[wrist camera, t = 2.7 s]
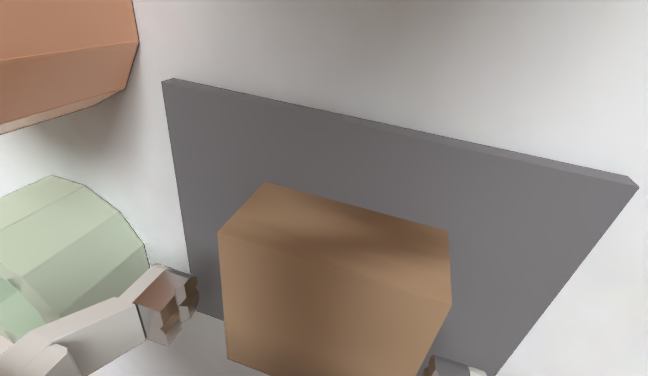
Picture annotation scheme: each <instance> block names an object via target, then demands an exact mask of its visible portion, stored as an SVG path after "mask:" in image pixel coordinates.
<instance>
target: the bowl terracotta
mask: <svg viewBox="0 0 648 376" xmlns="http://www.w3.org/2000/svg"><path fill="white" fill-rule="evenodd" d="M138 43H139V40H138V34H137V28H136V23H135V17H134V12H133V6H132V0H0V135H2V134H5V133H8V132H11V131H14V130H18V129H21V128H24V127H27V126H30V125H34V124H37V123H40V122H43V121H46V120H50V119H53V118H56V117H59V116H63V115H66V114H69V113H72V112H75V111H79V110H82V109H85V108H88V107H91V106H94V105H95V104H97V103H99V102H101V101H103V100H105V99H106V98H108V97H110V96H112V95H114V94H116V93H117V92H119V91H121V90H123V89H125V87H126V83H127V80H128V77H129V73H130V70H131V67H132V63H133V60H134V56H135V53H136V50H137V46H138Z"/></svg>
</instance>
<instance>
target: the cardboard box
mask: <svg viewBox="0 0 648 376" xmlns="http://www.w3.org/2000/svg"><path fill="white" fill-rule="evenodd" d="M217 236H218V249H219V261H220V273H221V285H222V298H223V310H224V322H225V334H226V347H227V359H229V360H232V361H235V362H237V363H240V364H242V365H245V366H247V367H250V368H252V369H255V370H258V371H260V372H263V373H265V374H268V375H270V376H416V374H417V372H418V370H419V368H420V367H421V365H422V363H423V361H424V359H425V357H426V355H427V353H428V351H429V349H430V347H431V345H432V343H433V341H434V339H435V337H436V335H437V333H438V331H439V330H440V328H441V326H442V324H443V322H444V320H445V318H446V316H447V314H448V312H449V310H450V308H451V306H452V294H451V275H450V255H449V235H448V231H446V230H442V229H439V228H435V227H431V226H428V225H424V224H420V223H416V222H413V221H409V220H405V219H402V218H398V217H394V216H390V215H387V214H383V213H379V212H376V211H372V210H368V209H364V208H361V207H357V206H353V205H350V204H346V203H342V202H338V201H335V200H331V199H327V198H324V197H320V196H316V195H312V194H309V193H305V192H301V191H298V190H294V189H290V188H287V187H283V186H279V185H275V184H272V183H268V182H264V183H263V184H262V185H261V186H260V187H259V188H258V189H257V190H256V191H255V192H254V193H253V195H252V196H251V197H250V198H249V199H248V200H247V201H246V202H245V203H244V204H243V205H242V206H241V207H240V208H239V209H238V210H237V212H236V213H235V214H234V215H233V216H232V217H231V218H230V219H229V220H228V221H227V222H226V223H225V224H224V225H223V226H222V227H221V229H220V230H219V231H218V232H217Z"/></svg>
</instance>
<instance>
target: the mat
mask: <svg viewBox="0 0 648 376" xmlns="http://www.w3.org/2000/svg"><path fill="white" fill-rule="evenodd" d="M161 84H162V90H163V97H164V103H165V110H166V116H167V123H168V129H169V136H170V142H171V149H172V155H173V162H174V168H175V175H176V181H177V188H178V194H179V201H180V207H181V214H182V221H183V227H184V234H185V240H186V247H187V253H188V260H189V266H190V273H191V275H192V276H195V277H197V281H198V284H197V285H196V287H195V288H196V289H197V290H198V291H199V296H200V298H199V303H198V305H197V308H196V311H199V312H201V313H204V314H207V315H210V316H212V317H215V318H218V319H220V320H223V321H224V310H223V298H222V285H221V273H220V261H219V249H218V236H217V232H218V231H219V230H220V229H221V227H222V226H223V225H224V224H225V223H226V222H227V221H228V220H229V219H230V218H231V217H232V216H233V215H234V214H235V213H236V212H237V210H238V209H239V208H240V207H241V206H242V205H243V204H244V203H245V202H246V201H247V200H248V199H249V198H250V197H251V196H252V195H253V193H254V192H255V191H256V190H257V189H258V188H259V187H260V186H261V185H262V184H263V183H264V182H268V183H272V184H275V185H279V186H283V187H287V188H290V189H294V190H298V191H301V192H305V193H309V194H312V195H316V196H320V197H324V198H327V199H331V200H335V201H338V202H342V203H346V204H350V205H353V206H357V207H361V208H364V209H368V210H372V211H376V212H379V213H383V214H387V215H390V216H394V217H398V218H402V219H405V220H409V221H413V222H416V223H420V224H424V225H428V226H431V227H435V228H439V229H442V230H446V231H448V235H449V255H450V275H451V294H452V306H451V308H450V310H449V312H448V314H447V316H446V318H445V320H444V322H443V324H442V326H441V328H440V330H439V331H438V333H437V335H436V337H435V339H434V341H433V343H432V345H431V347H430V349H429V351H428V353H427V355H426V357H425V359H424V361H423V363H422V365H421V367H420V368H419V370H418V372H417V374H416V376H421V375H422V373H423V370H424V368H427V367H429V359H430V357H431V356H432V355H433V354H434V355H437V356H440V357H443V358H447V359H450V360H453V361H456V362H459V363H463V364H466V365H467V366H470V367H474V368H477V369H480V370H483V371H485V373H486V375H487V376H495V375H496V374H497V373H498V371H499V370H500V369H501V367H502V366H503V365H504V364H505V362H506V361H507V360H508V358H509V357H510V356H511V354H512V353H513V352H514V350H515V349H516V348H517V347H518V345H519V344H520V343H521V341H522V340H523V339H524V337H525V336H526V335H527V334H528V332H529V331H530V330H531V328H532V327H533V326H534V324H535V323H536V322H537V320H538V319H539V318H540V317H541V315H542V314H543V313H544V311H545V310H546V309H547V307H548V306H549V305H550V304H551V302H552V301H553V300H554V298H555V297H556V296H557V294H558V293H559V292H560V290H561V289H562V288H563V287H564V285H565V284H566V283H567V281H568V280H569V279H570V277H571V276H572V275H573V274H574V272H575V271H576V270H577V268H578V267H579V266H580V264H581V263H582V262H583V260H584V259H585V258H586V257H587V255H588V254H589V253H590V251H591V250H592V249H593V247H594V246H595V245H596V243H597V242H598V241H599V240H600V238H601V237H602V236H603V234H604V233H605V232H606V230H607V229H608V228H609V227H610V225H611V224H612V223H613V221H614V220H615V219H616V217H617V216H618V215H619V213H620V212H621V211H622V210H623V208H624V207H625V206H626V204H627V203H628V202H629V200H630V199H631V198H632V197H633V195H634V194H635V193H636V191H637V190H638V189H639V186H638V185H637V184H635V183H634V182H633V181H632V180H631V179H630V178H629V177H628V176H624V175H619V174H615V173H610V172H605V171H601V170H596V169H591V168H587V167H582V166H578V165H573V164H568V163H564V162H559V161H554V160H550V159H545V158H541V157H536V156H531V155H527V154H522V153H517V152H513V151H508V150H504V149H499V148H494V147H490V146H485V145H480V144H476V143H471V142H467V141H462V140H457V139H453V138H448V137H443V136H439V135H434V134H430V133H425V132H420V131H416V130H411V129H406V128H402V127H397V126H393V125H388V124H383V123H379V122H374V121H369V120H365V119H360V118H356V117H351V116H346V115H342V114H337V113H332V112H328V111H323V110H319V109H314V108H309V107H305V106H300V105H295V104H291V103H286V102H282V101H277V100H272V99H268V98H263V97H259V96H254V95H249V94H245V93H240V92H235V91H231V90H226V89H222V88H217V87H212V86H208V85H203V84H198V83H194V82H189V81H185V80H180V79H175V78H172V79H169V80H165V81H162V82H161Z"/></svg>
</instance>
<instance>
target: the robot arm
mask: <svg viewBox="0 0 648 376" xmlns="http://www.w3.org/2000/svg"><path fill="white" fill-rule="evenodd" d="M197 284H198V281H197V277H195V276H192V275H189V274H186V273H184V272H181V271H178V270H175V269H172V268H170V267H166V266H163V265H160V264H155V265H153V266H151V267H150V268H149V269H148V270H147V271H146V272H145V273H144V274H143V275H142V276H141V277H140V278H139V279H138V280H136V281H135V282H134V283H133V284H132V285H131V286H130V287H129V288H128V289H127V290H126V291H125V292H124V293H123V294H122V295H121V296H120V297H118V298H117V297H112V298H110V299H107V300H105V301H103V302H100V303H98V304H95V305H93V306H90V307H88V308H85V309H83V310H80V311H78V312H75V313H73V314H70V315H68V316H65V317H63V318H60V319H58V320H55V321H53V322H50V323H48V324H45V325H43V326H40V327H38V328H36V329H33V330H31V331H29V332H28V333H26V334H25V335H24V336H23V337H22V338H20V339H19V340H18V341H17V342H15V343H14V344H13V345H12V346H11V347H9V348H8V349H7V350H6V351H5V352H3V353H2V354H1V355H0V376H88V375H90V374H91V373H93V372H95V371H96V370H98V369H100V368H101V367H103V366H105V365H106V364H108V363H110V362H111V361H113V360H114V359H116V358H118V357H119V356H121V355H123V354H124V353H126V352H128V351H129V350H131V349H133V348H134V347H136V346H138V345H139V344H141V343H142V342H144V341H146V339H148V340H151V341H154V342H157V343H160V344H163V345H166V346H169V345H170V344H171V342H172V341H173V340H174V338H175V337H176V336H177V334H178V333H179V332H180V331H181V325H182V322H183V321H185V320H187V319H189V318H190V317H191V316H192V315H193V313H194V312H195V310H196V308H197V305H198V303H199V298H200V296H199V291H198V290H197V289H196V288H195V287H196V285H197ZM421 376H487V375H486V373H485V371H483V370H480V369H477V368H474V367H470V366H467V365H466V364H463V363H459V362H456V361H453V360H450V359H447V358H443V357H440V356H437V355H434V354H433V355H432V356H431V357H430V359H429V367H427V368H424V370H423V373H422V375H421Z"/></svg>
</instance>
